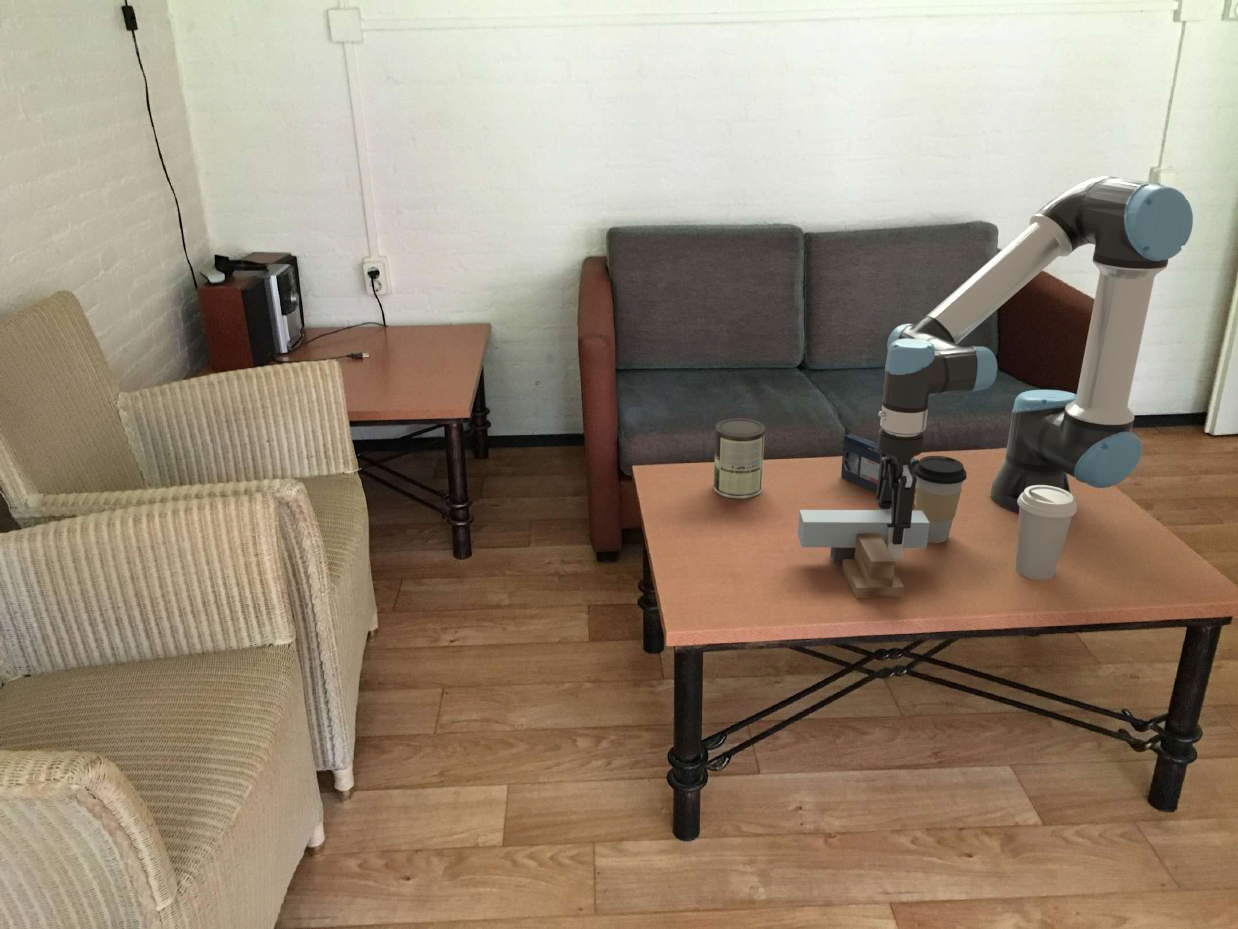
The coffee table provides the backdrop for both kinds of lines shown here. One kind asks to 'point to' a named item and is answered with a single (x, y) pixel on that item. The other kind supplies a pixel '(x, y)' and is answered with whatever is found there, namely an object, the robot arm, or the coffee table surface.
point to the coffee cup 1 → (938, 493)
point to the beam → (856, 527)
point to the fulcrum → (872, 569)
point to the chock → (841, 554)
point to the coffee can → (738, 458)
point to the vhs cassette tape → (863, 462)
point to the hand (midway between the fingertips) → (888, 549)
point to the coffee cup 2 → (1042, 529)
